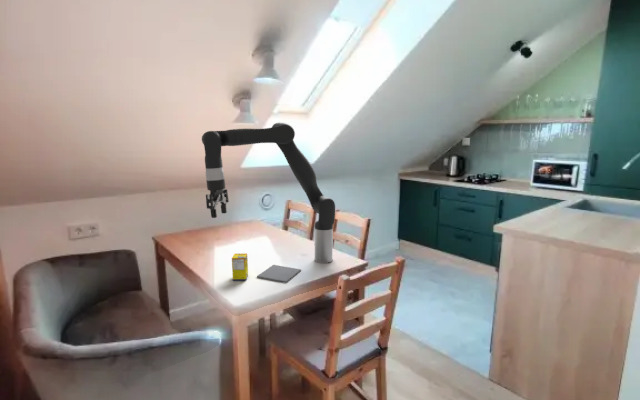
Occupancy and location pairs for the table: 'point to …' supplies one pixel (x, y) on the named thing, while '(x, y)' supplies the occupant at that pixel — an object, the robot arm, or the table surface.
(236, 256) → the supplement box
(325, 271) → the table surface
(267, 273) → the charcoal mat
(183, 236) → the table surface
